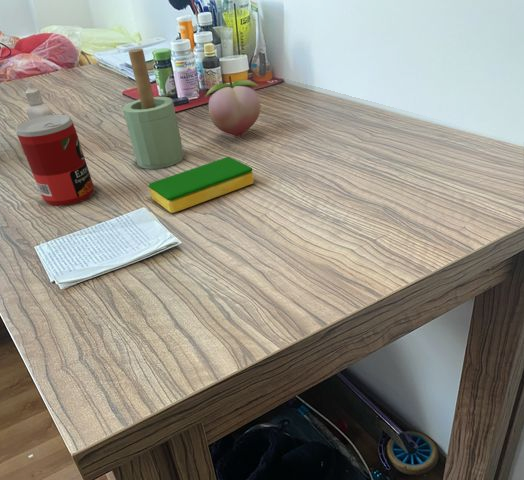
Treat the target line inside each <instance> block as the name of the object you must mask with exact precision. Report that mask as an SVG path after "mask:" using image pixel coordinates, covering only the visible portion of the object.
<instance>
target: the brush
mask: <svg viewBox="0 0 524 480" xmlns="http://www.w3.org/2000/svg"><path fill="white" fill-rule="evenodd" d="M128 55H129V60H130V64H131V68H132V72H133V77H134V81H135V85H136V88H137V93H138V97H139V99H140V102H141V106H142V109H150V108H154V107H156V105H155V101H154V97H155V96H154V93H153V87H152V84H151V79H150V75H149V70H148V66H147V61H146V56H145V53H144V49H143V48H134V49H130V50H128Z"/></svg>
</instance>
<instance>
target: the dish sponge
mask: <svg viewBox="0 0 524 480" xmlns="http://www.w3.org/2000/svg"><path fill="white" fill-rule="evenodd" d="M253 184H254V172H253V167H251V166H250V165H248V164H245V163H243V162H241V161H239V160H237V159H234V158H233V157H230V156H226V157H223V158H220V159H217V160H215V161H212V162H208V163H206V164H202V165H200V166H196V167H193V168H191V169H188V170H185V171H181V172H179V173H176V174H172V175H170V176H167V177H165V178H161V179H159V180H155V181H152V182H149V183H148V188H149V193H150V196H151V199H152V200H153V201H154V202H156V203H157V204H159V205H160V206H161V207H163V208H164V209H165V210H166V211H168V212H169V213H171V214H174V213H177V212H180V211H183V210H185V209H188V208H191V207H193V206H196V205H199V204H202V203H204V202H206V201H209V200H212V199H215V198H217V197H221V196H223V195H226V194H228V193H231V192H234V191H236V190H240V189H242V188H244V187H245V188H246V187H248V186H250V185H253Z"/></svg>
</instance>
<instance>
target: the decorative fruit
mask: <svg viewBox="0 0 524 480" xmlns="http://www.w3.org/2000/svg"><path fill="white" fill-rule="evenodd" d="M228 81H229V82H226V83H218V84H214V85H213V86H212V87H211V88H209V89H208V90H207V92H206V93H205V95H204V98H207V97H208V96H209V100H208V113H209V117H210V120H211V122H212V123H213V125H214V127H216V128H217V129H218V130H220V131H221V132H223V133H225V134H228V135H231V136H234V137H240V136H242V135H243V134H245V133H246V132H247V131H249V129H251V128H252V127H253V126H254V124H255V123H256V122H257V120H258V118H259V117H260V113H261V101H260V97H259V95H258V93H257V91H256V90H255V88H253V87H256V88H260V86H259V85H258V83H256V82H254V81H252V80H250V79H246V78H245V79H238V80H235V81H232V77H231V75H228Z"/></svg>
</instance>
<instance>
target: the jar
mask: <svg viewBox="0 0 524 480" xmlns="http://www.w3.org/2000/svg"><path fill="white" fill-rule="evenodd" d="M154 101H155V105H156V107H154V108H150V109H142V106H141V102H140V98H139V99H136V100H134V101H130V102H128V103H126V104H125V105H124V106H122V112H123V115H124V119H125V123H126V127H127V131H128V135H129V139H130V142H131V145H132V149H133V153H134V154H133V155H134V157H135V161H136V164H137V166H138V167H139V168H141V169H146V170H158V169H163V168H168V167H171V166H173V165H177V164H179V163H180V162H182V160H183V159H184V156H185V155H184V148H183V144H182V138H181V133H180V130H179V124H178V120H177V114H176V109H175V104H174V100H173V98H171V97H167V96H154Z"/></svg>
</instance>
